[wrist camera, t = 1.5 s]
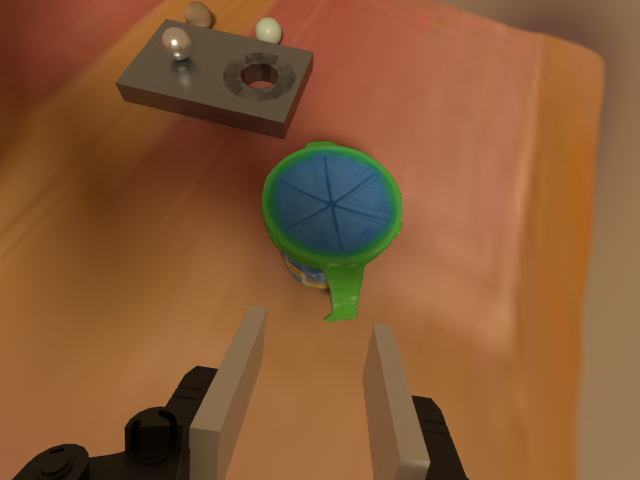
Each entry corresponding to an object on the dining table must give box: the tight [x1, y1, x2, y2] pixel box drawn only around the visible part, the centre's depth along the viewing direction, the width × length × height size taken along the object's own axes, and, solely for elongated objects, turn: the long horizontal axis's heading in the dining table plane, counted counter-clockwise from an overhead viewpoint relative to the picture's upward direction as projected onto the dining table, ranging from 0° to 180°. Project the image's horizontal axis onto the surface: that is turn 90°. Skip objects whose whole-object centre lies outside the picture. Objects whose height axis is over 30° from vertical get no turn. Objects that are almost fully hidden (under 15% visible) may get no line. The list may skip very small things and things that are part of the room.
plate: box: [116, 19, 313, 139], centre depth 45 cm, size 20×13×2 cm, turn 76°
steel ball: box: [161, 27, 193, 61], centre depth 42 cm, size 4×4×4 cm
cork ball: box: [185, 2, 212, 28], centre depth 49 cm, size 4×4×4 cm
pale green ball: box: [255, 17, 282, 44], centre depth 49 cm, size 4×4×4 cm
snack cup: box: [261, 141, 402, 322], centre depth 31 cm, size 16×10×10 cm
